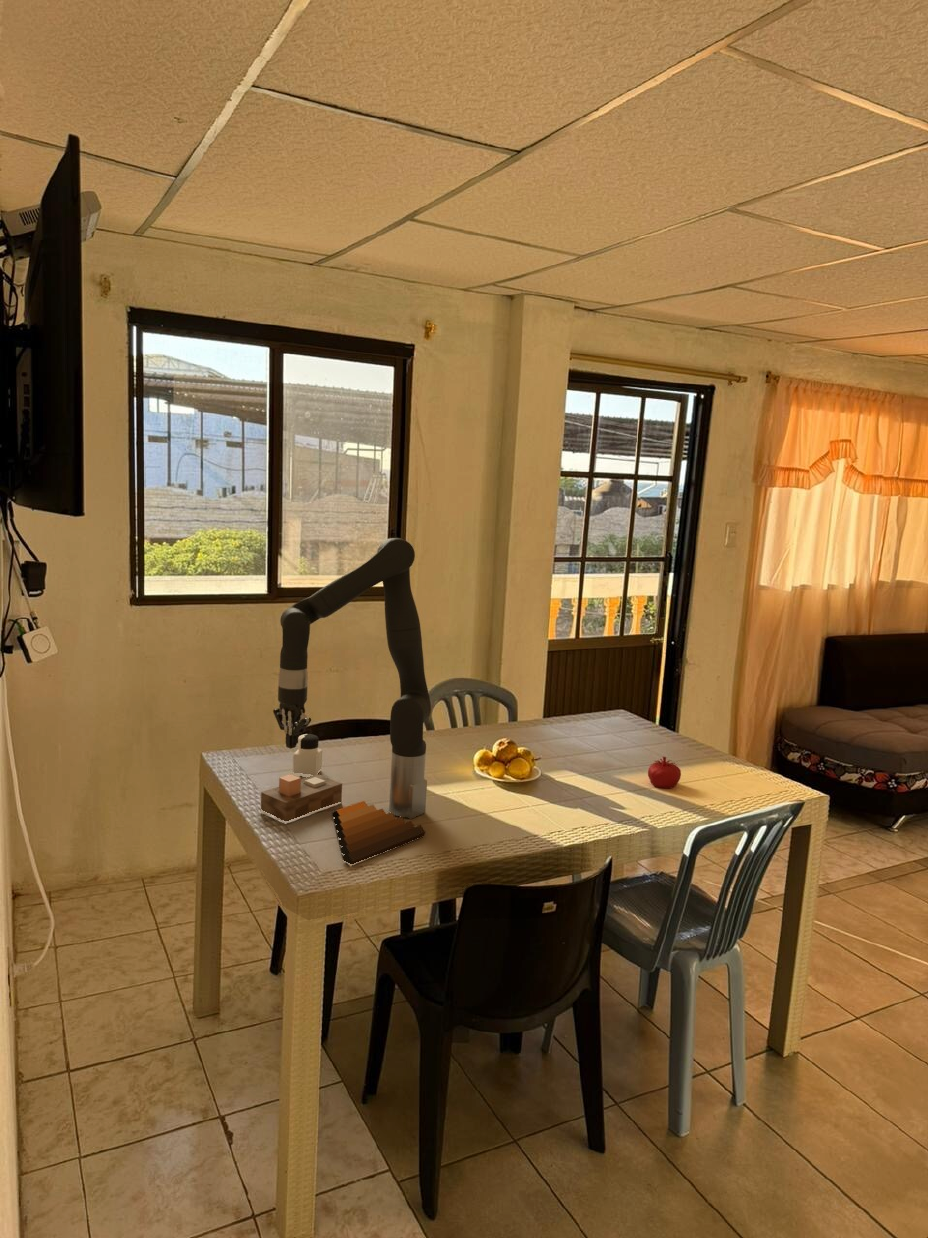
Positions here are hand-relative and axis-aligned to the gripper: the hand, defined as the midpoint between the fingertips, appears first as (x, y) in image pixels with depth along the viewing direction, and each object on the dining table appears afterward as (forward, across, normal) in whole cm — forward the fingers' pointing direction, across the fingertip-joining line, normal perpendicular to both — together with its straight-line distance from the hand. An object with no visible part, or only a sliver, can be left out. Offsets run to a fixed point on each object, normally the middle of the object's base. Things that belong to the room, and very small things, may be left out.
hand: (290, 747), depth 229 cm
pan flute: (+19, -23, -3) cm, 30 cm away
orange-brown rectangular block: (+14, 0, 0) cm, 14 cm away
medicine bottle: (+19, +19, -23) cm, 35 cm away
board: (+18, 0, -4) cm, 19 cm away
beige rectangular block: (+17, 0, -9) cm, 19 cm away
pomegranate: (+18, -63, -98) cm, 118 cm away
